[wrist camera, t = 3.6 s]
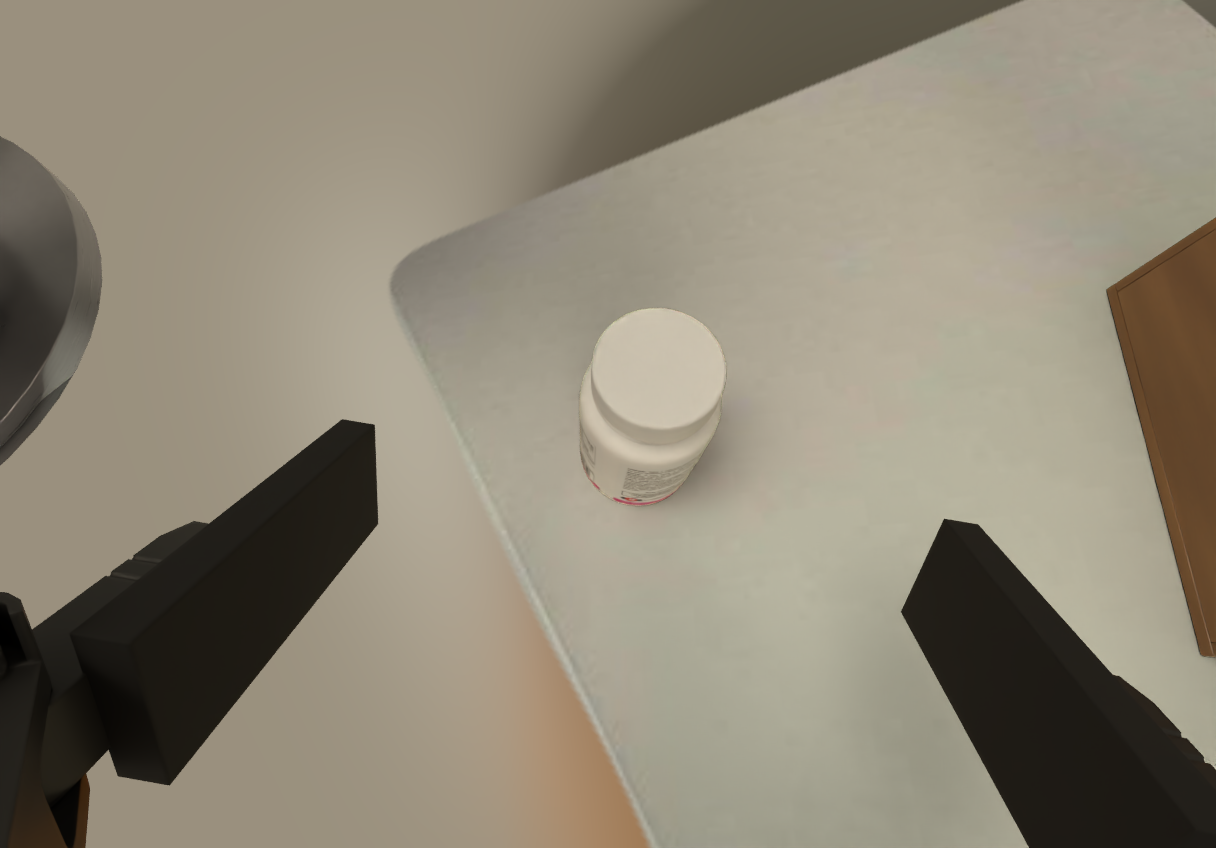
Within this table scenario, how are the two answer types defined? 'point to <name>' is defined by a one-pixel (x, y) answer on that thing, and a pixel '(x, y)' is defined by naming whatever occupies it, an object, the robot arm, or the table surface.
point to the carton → (1179, 402)
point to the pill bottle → (649, 404)
